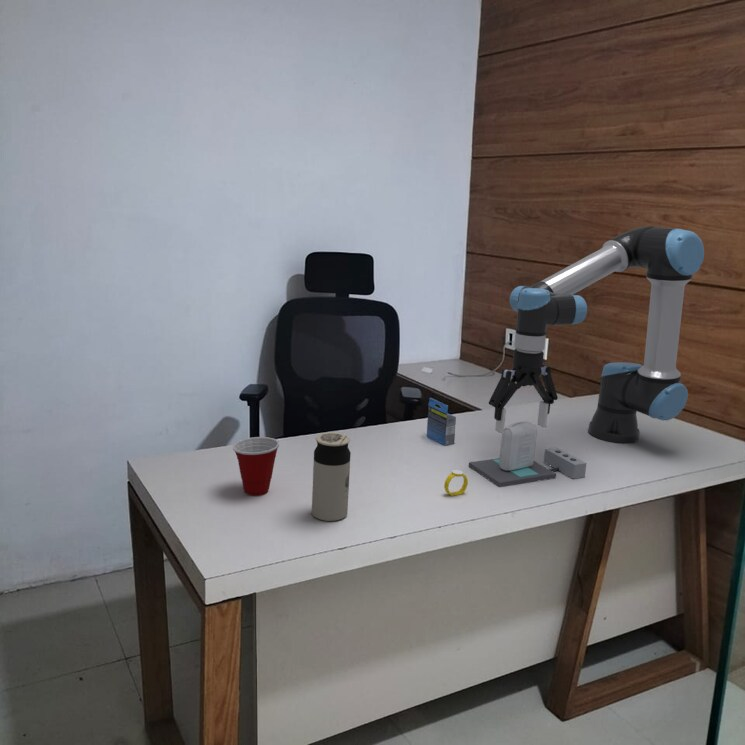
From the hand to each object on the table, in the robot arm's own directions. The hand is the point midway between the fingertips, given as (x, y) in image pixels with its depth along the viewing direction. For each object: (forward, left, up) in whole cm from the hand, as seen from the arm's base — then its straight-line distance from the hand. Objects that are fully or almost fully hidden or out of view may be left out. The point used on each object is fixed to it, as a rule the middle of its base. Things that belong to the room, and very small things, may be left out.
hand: (520, 428), depth 186 cm
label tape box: (+7, -27, -12) cm, 31 cm away
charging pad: (+1, 0, -12) cm, 12 cm away
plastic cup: (+68, -10, -12) cm, 70 cm away
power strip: (-11, +3, -12) cm, 17 cm away
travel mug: (+56, +7, -12) cm, 58 cm away
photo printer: (0, 0, -11) cm, 11 cm away
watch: (+23, +7, -12) cm, 27 cm away
